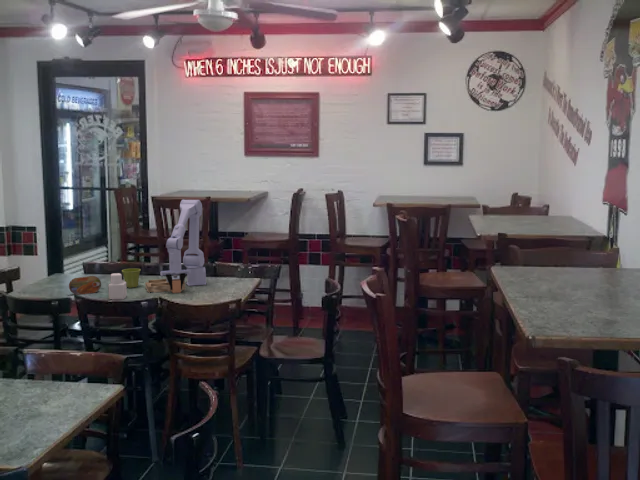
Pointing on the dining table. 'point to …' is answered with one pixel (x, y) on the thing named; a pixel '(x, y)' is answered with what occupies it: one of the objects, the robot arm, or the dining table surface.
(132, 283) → the plant pot
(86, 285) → the tin
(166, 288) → the puzzle board
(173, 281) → the terracotta block
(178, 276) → the slate cover
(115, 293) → the medicine bottle
